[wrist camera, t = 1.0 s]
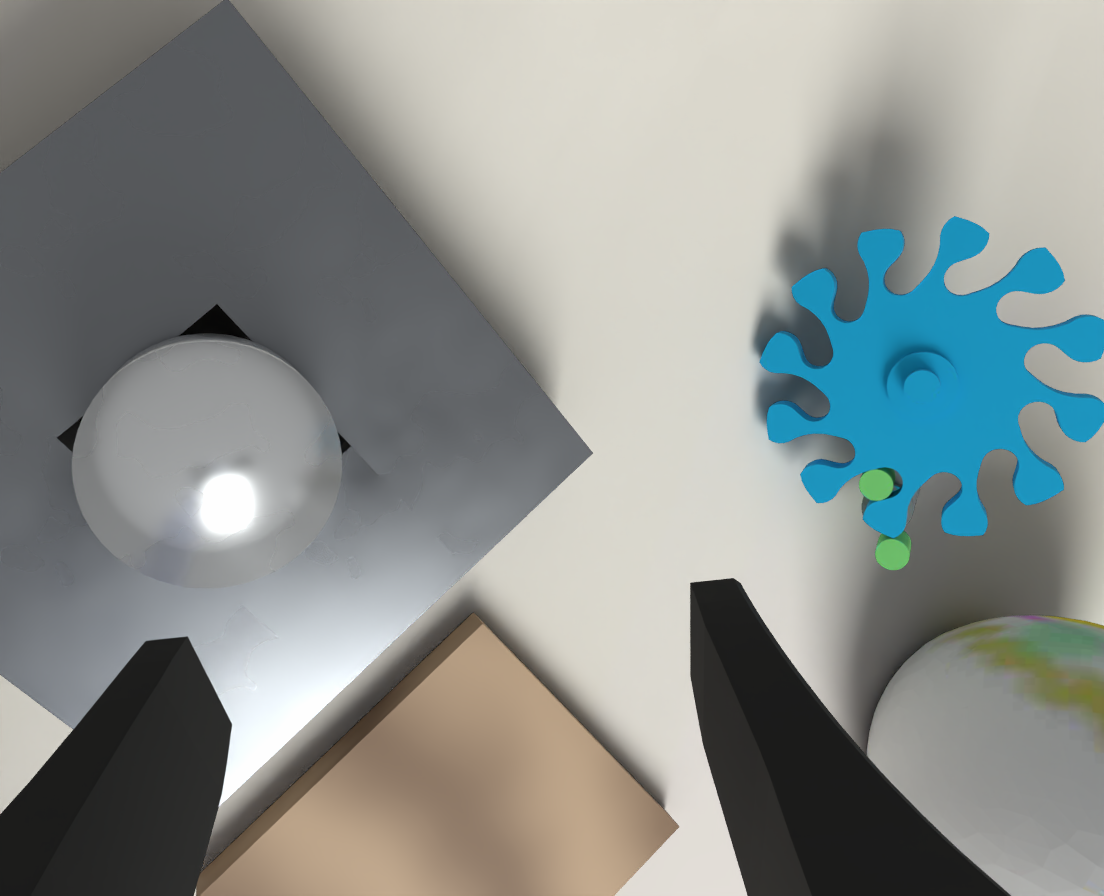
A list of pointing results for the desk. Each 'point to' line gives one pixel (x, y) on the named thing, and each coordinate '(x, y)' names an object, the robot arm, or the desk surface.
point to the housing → (276, 323)
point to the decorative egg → (1005, 748)
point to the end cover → (206, 462)
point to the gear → (930, 386)
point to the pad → (453, 796)
